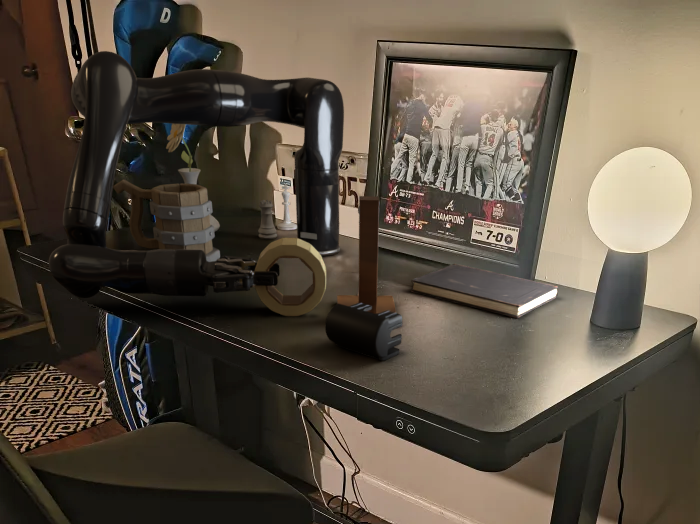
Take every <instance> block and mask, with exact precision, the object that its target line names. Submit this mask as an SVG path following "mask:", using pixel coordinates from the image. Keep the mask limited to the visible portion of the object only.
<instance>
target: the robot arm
mask: <svg viewBox="0 0 700 524" xmlns="http://www.w3.org/2000/svg"><path fill="white" fill-rule="evenodd" d="M70 95H71V100H72V103H73V105H74V107H75V109H76V110H77V111H78V113H79V114H80V115H81V116H83V118H84V121H83V126H82V127H83V128H82V133H81V137H80V140H79V145H78V149H77V152H76V155H75V158H74V162H73V164H72V168H71V172H70V175H69V179H68V184H67V189H66V194H65V200H64V205H63V206H64V207H63V213H62V226H63V229H64V231H65V234H66V238H67V243H66V244H62V245H60V246H58V247H56V248H55V249H54V250H52V252H51V253H50V255H49V257H48V269H49V272H50V274H51V276H52V277H53V278H54V280H55V281H56V282H57V283H59V284H60V285H61V286H62V287H63V288H64V289H65V290H67V291H68V292H69V293H70V294H71V295H73V296H75V297H77V298H81V299H89V298H93V297H94V296H97V294H99V292H101V290H102V288H111V289H114V290H116V291H117V292H120V293H123V294H129V295H132V294H134V295H158V296H165V297H205V296H206V295H207V294H208V291H209V287H212V289H213V290H212V291H213V292H214V293H216V294H218V293H231V292H247V291H250V290H251V289H252V288H255V285H256V286H274V287H276V286H278V282H279V279H278V277H279V276H280V273H281V270H280V264H279V263H278V262H275V264H274V265H273V266H272V267H271V268H270V269H269V271H255V268H256V265H257V262H258V260H255V258H254V257H244V256H234V255H225V254H224V255H222V256H221V258H219V259H217V260H216V261H211V262H208V261H207V260H206V255H205V253H204V251H203V250H187V249H158V250H157V249H148V250H135V249H129V250H128V249H127V250H121V249H114V248H110V247H107V230H108V226H109V218H110V214H111V208H112V202H113V201H112V199H113V193H114V188H113V187H114V185H115V180H116V175H117V168H118V162H119V157H120V153H121V148H122V144H123V140H124V135H125V133H126V129H127V126H128V125H135V124H149V123H151V124H152V123H159V124H170V125H172V124H186V126H188V125H190V126H204V127H225V128H226V127H227V128H229V127H231V128H232V127H233V128H234V127H243V126H248V125H253V124H258V123H262V122H263V123H265V122H266V123H269V122H270V123H277V124H278V123H279V124H285V125H289V126H295V127H298V128H301V129H303V131H304V132H303V144H302V146H301V147H300V148H299V149H297V150H296V151H295V153H294V183H295V184H294V185H295V211H296V224H297V229H296V238H298V239H301V240H303V241H305V242H307V243H310V244H311V245H312V246H313V247H314V248H315V249H316V250H317V251H318V252H319V253H320V255H321V257H328V256H333V255H334V256H335V255H337V254H339V253H340V250H341V246H340V158H341V156H342V153H343V147H344V129H345V128H344V127H345V106H344V98H343V95H342V92H341V90H340V88H339V87H338V85H337V84H335V83H334V82H333V81H331V80H328V79H323V78H315V77H297V78H286V79H285V78H283V79H266V78H264V79H263V78H259V77H256V76H253V75H249V74H245V73H242V72H241V73H240V72H235V71H229V70H223V69H222V70H221V69H211V68H199V69H189V70H183V71H179V72H173V73H171V74H166V75H161V76H157V77H137V75H136V72H135V70H134V68H133V67H132V66H131V64H130V63H129V62H128V60H126V58H124V57H123V56H121V55H120V54H118V53H116V52H113V51H109V50H101V51H98V52H94V53H93V54H92V55H90V56H89V57H88V58H87V59H86V60H85V61H84V62H83V64H82V65H81V66H80V69H79V70H78V71H77V73H76V75H75V76H74V78H73V82H72V85H71V91H70ZM246 267H247V268H246ZM254 271H255V274H254Z"/></svg>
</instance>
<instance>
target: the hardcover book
mask: <svg viewBox="0 0 700 524" xmlns="http://www.w3.org/2000/svg"><path fill="white" fill-rule="evenodd" d="M410 281H411V282H412V283H413V286H412V289H411V290H410V292H411V293H415V294H419V295H423V296H427V297H431V298H434V299H439V300H443V301H446V302H450V303H454V304H458V305H462V306H467V307H470V308H474V309H477V310H478V309H479V310H482V311H486V312H489V313H495V314H499V315H503V316H506V317H510V318H514V319H519V318H521V317H523V316H524V315H527V314H529V313H530V312H532V311H534V310H536V309H539V308H540V307H542V306H543V305H546V304H547V303H549V302H551V301H553V300H555V299H556V298H557V297H558V295H559V287H558V285H554V284H549V283H544V282H541V281H536V280H531V279H526V278H522V277H517V276H513V275H508V274H505V273H500V272H495V271H491V270H486V269H482V268H477V267H472V266H468V265H464V264H459V263H452V264H450V265H447V266H445V267H441V268H439V269H436V270H433V271H431V272H428V273H426V274H423V275H421V276H418V277H416V278H413V279H411V280H410Z"/></svg>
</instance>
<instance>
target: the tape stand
mask: <svg viewBox="0 0 700 524" xmlns="http://www.w3.org/2000/svg"><path fill="white" fill-rule="evenodd" d="M358 198H359V199H358V204H359V205H358V207H357V213H358V282H357V283H358V286H357V287H358V289H357V290H358V291H357V292H358V293H357V294H354V295H353V294H352V295H351V294H345V295H344V294H337V297H336V299H337V301H336V302H337V303H336V304H342V305H346V306H351V305H354V304H357V303H363V304H366V305H370V306H372V309H371V310H368V311H367V312H370V313H373V314H376V313H381V312H384V311H386V310H387V311H388V310H389V311H391V312H394V313H395V312H396V313H397V311H396V305H395V301H394V297H393V295H378V276H379V275H378V270H379V269H378V268H379V265H378V264H379V231H380V229H379V228H380V226H379V225H380V197H379V196H375V195H374V196H373V195H359V197H358Z"/></svg>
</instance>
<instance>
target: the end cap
mask: <svg viewBox="0 0 700 524" xmlns="http://www.w3.org/2000/svg"><path fill="white" fill-rule="evenodd" d="M371 309H372V306H370V305H366V304H363V303H357V304H354V305H351V306H346V305H342V304H337V303H336V304H334V306H332V307H331V309H330V310H329V311H328V314H327V316H326V319H325V325H324V327H325V334H326V337H327V338H328V340H329V341H330V342H332V343H333V344H334V345H336V346H337V347H340V348H342V349H346V350H349V351H352V352H354V353H359V354H361V355H364V356H367V357H370V358H374V359H376V360H378V361H379V360H380V361H387V360H389V359H391V358H393V357H395V356H398V355H399V354H400V348H397V346H400V345H402V340H403V336H402V333H398V334H396V335H393V336H391V333H392V331H394V330H396V329H399V328H402V327H403V315H401V314H400V313H397V311H396V312H395V313H394V312H391V311H389V310H388V311H387V310H386V311H384V312H381V313H376V314H373V313H370V312H367V311H368V310H371Z"/></svg>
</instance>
